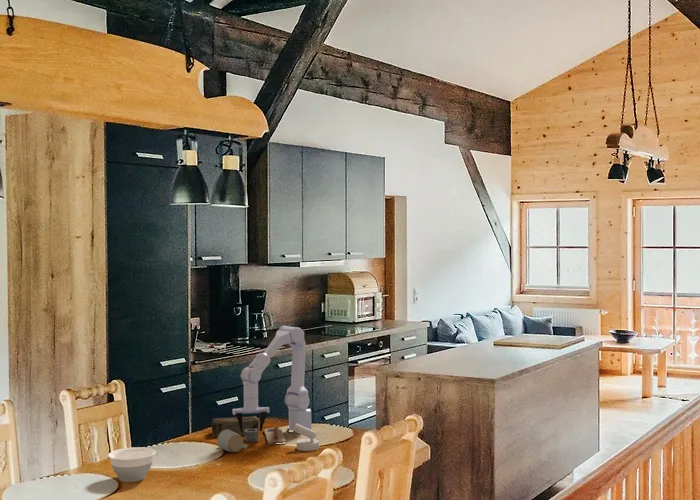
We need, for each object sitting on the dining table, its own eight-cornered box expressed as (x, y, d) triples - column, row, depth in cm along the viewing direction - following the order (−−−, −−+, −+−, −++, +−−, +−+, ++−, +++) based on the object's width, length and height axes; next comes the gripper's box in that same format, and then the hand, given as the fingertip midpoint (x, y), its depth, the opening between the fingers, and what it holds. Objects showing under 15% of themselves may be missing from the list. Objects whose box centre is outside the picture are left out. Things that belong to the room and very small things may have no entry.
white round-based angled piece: (293, 420, 328) (319, 420, 328) (294, 445, 328) (319, 445, 328) (291, 425, 320) (318, 425, 319) (292, 450, 320) (318, 450, 320)
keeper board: (280, 431, 351) (280, 417, 351) (286, 444, 330) (285, 429, 330) (264, 431, 350) (263, 418, 350) (268, 445, 328) (268, 430, 328)
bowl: (137, 468, 298) (137, 444, 297) (165, 476, 288) (165, 451, 287) (98, 479, 285) (98, 454, 285) (126, 488, 275) (126, 462, 275)
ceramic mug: (229, 454, 315) (229, 434, 315) (216, 450, 321) (216, 430, 321) (252, 450, 322) (252, 430, 322) (239, 446, 328) (239, 426, 328)
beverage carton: (259, 434, 347) (259, 418, 347) (212, 437, 342) (212, 421, 342) (257, 430, 354) (256, 414, 354) (211, 433, 350) (210, 417, 350)
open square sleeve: (257, 438, 339) (257, 428, 339) (258, 441, 334) (258, 431, 334) (244, 439, 338) (244, 429, 338) (245, 442, 333) (245, 432, 333)
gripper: (267, 394, 341) (267, 428, 342) (231, 396, 338) (232, 430, 338) (270, 398, 335) (270, 432, 335) (233, 399, 331) (233, 434, 332)
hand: (251, 431), depth 336 cm, fingers open, 7 cm apart
